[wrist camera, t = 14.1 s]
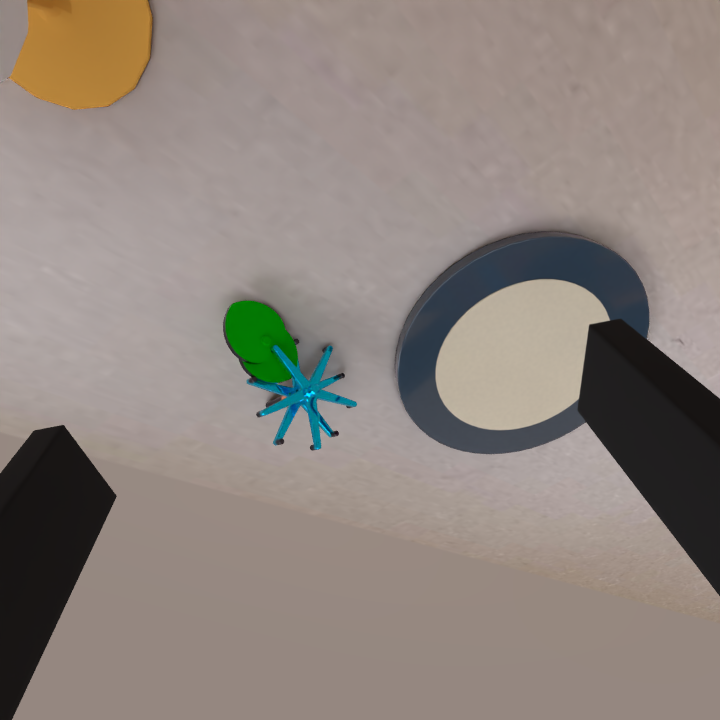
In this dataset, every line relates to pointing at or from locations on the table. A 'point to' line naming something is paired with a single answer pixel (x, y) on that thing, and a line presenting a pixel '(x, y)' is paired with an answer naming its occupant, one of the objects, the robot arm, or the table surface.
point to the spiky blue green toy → (279, 366)
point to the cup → (75, 48)
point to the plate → (511, 340)
